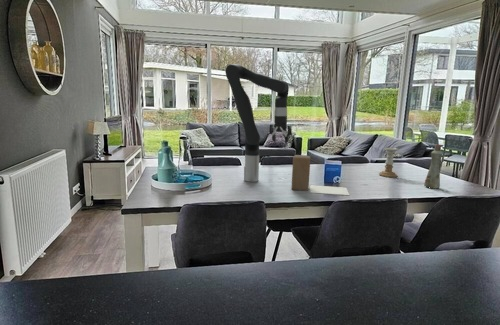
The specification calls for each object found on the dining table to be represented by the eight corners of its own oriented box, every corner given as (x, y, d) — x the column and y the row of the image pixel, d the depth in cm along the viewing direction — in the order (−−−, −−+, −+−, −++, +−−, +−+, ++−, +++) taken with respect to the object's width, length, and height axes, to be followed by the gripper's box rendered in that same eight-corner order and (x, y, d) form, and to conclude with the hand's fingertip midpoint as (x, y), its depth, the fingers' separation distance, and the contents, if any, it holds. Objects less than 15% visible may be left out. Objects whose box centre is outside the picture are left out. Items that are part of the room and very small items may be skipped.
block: (308, 191, 191) (310, 158, 187) (291, 190, 193) (292, 157, 189) (308, 187, 201) (310, 155, 197) (292, 185, 203) (294, 154, 199)
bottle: (431, 189, 202) (437, 145, 196) (420, 186, 210) (426, 143, 205) (443, 189, 204) (449, 145, 199) (431, 185, 213) (437, 143, 207)
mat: (310, 192, 188) (310, 192, 188) (309, 185, 204) (310, 185, 204) (349, 195, 185) (349, 194, 185) (346, 188, 200) (346, 187, 200)
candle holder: (387, 173, 245) (390, 146, 242) (400, 176, 235) (404, 149, 231) (375, 174, 240) (378, 147, 236) (388, 178, 229) (391, 150, 225)
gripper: (267, 114, 195) (267, 141, 198) (288, 115, 186) (287, 143, 190) (274, 114, 201) (273, 140, 204) (294, 115, 192) (293, 142, 196)
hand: (280, 142), depth 197 cm, fingers open, 8 cm apart
